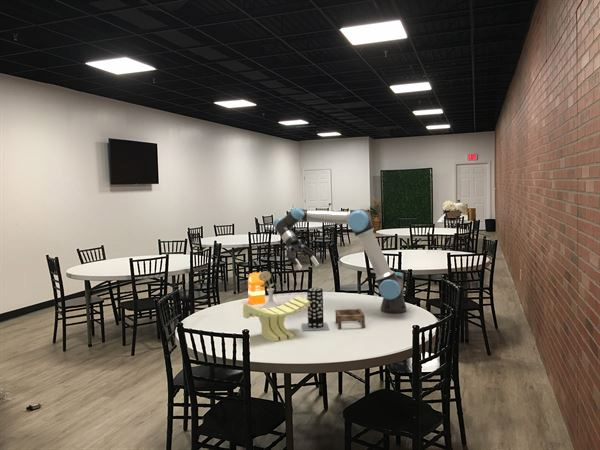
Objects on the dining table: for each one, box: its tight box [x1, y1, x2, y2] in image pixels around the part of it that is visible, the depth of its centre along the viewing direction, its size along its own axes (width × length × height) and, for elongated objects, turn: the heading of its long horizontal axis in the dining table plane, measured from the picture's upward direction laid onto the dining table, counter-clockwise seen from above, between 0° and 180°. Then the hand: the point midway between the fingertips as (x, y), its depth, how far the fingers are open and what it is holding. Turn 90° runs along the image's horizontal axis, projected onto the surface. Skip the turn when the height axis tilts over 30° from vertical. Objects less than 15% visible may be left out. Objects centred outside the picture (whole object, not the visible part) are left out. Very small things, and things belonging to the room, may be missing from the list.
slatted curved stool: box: [242, 296, 310, 343], centre depth 262 cm, size 30×16×18 cm, turn 116°
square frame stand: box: [334, 308, 366, 330], centre depth 278 cm, size 14×14×7 cm
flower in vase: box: [258, 270, 280, 309], centre depth 313 cm, size 13×11×25 cm
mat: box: [301, 321, 330, 332], centre depth 276 cm, size 14×14×1 cm
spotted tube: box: [306, 287, 324, 328], centre depth 276 cm, size 8×8×20 cm
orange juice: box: [247, 272, 266, 306], centre depth 337 cm, size 8×9×20 cm
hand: (309, 267), depth 294 cm, fingers open, 13 cm apart
